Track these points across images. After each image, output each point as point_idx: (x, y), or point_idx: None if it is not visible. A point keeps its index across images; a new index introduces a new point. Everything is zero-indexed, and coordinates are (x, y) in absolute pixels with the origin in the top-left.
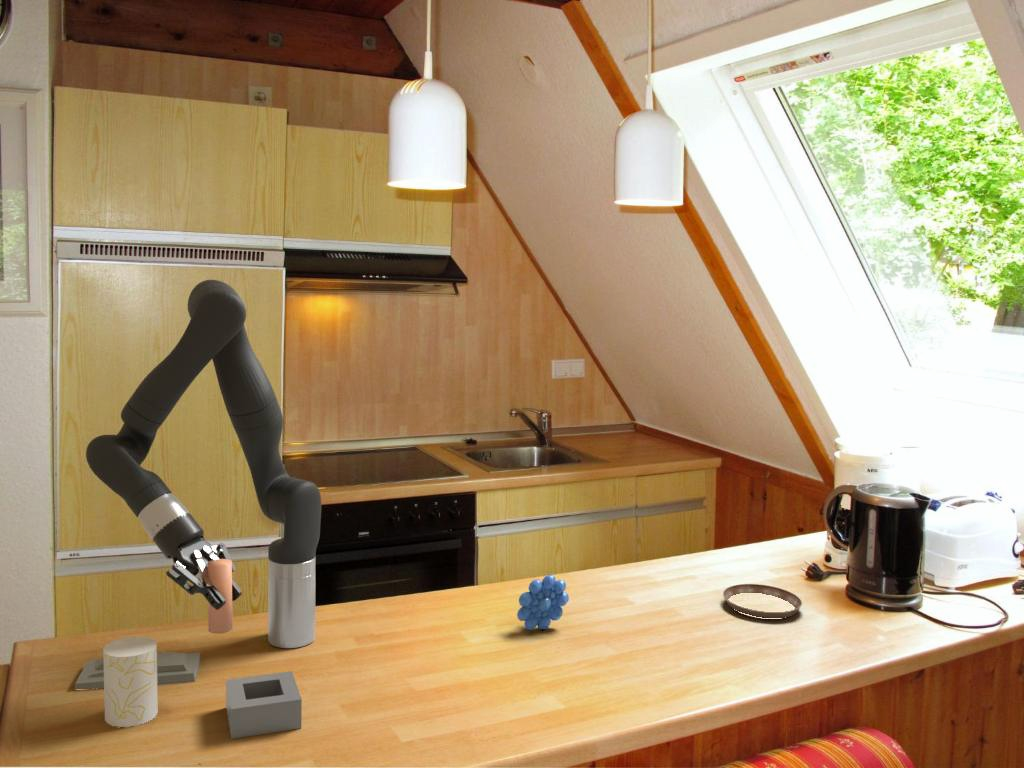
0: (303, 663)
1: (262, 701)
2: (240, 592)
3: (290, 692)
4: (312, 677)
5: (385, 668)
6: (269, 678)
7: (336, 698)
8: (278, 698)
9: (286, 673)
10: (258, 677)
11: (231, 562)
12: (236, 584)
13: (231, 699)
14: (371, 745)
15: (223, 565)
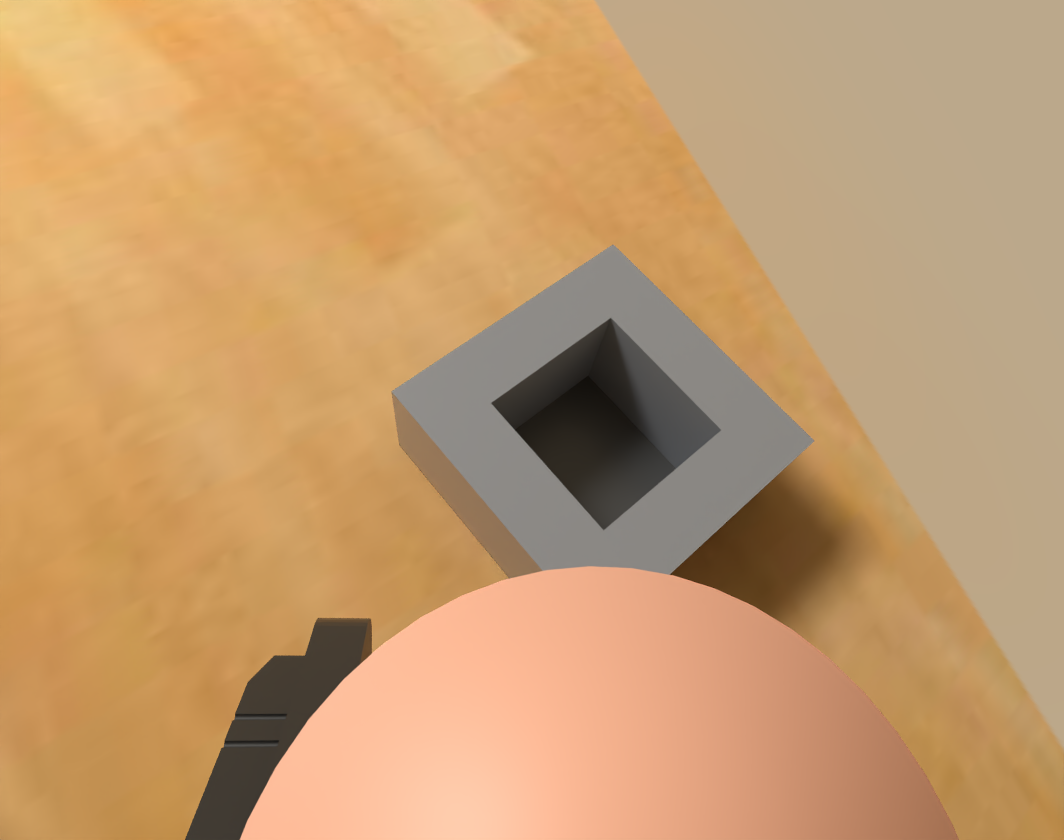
0: (25, 578)
1: (698, 364)
2: (338, 622)
3: (581, 304)
4: (180, 462)
5: (24, 234)
6: (501, 446)
7: (342, 298)
8: (649, 320)
9: (424, 402)
10: (513, 498)
11: (458, 601)
12: (229, 744)
13: (749, 488)
14: (588, 110)
15: (763, 659)
